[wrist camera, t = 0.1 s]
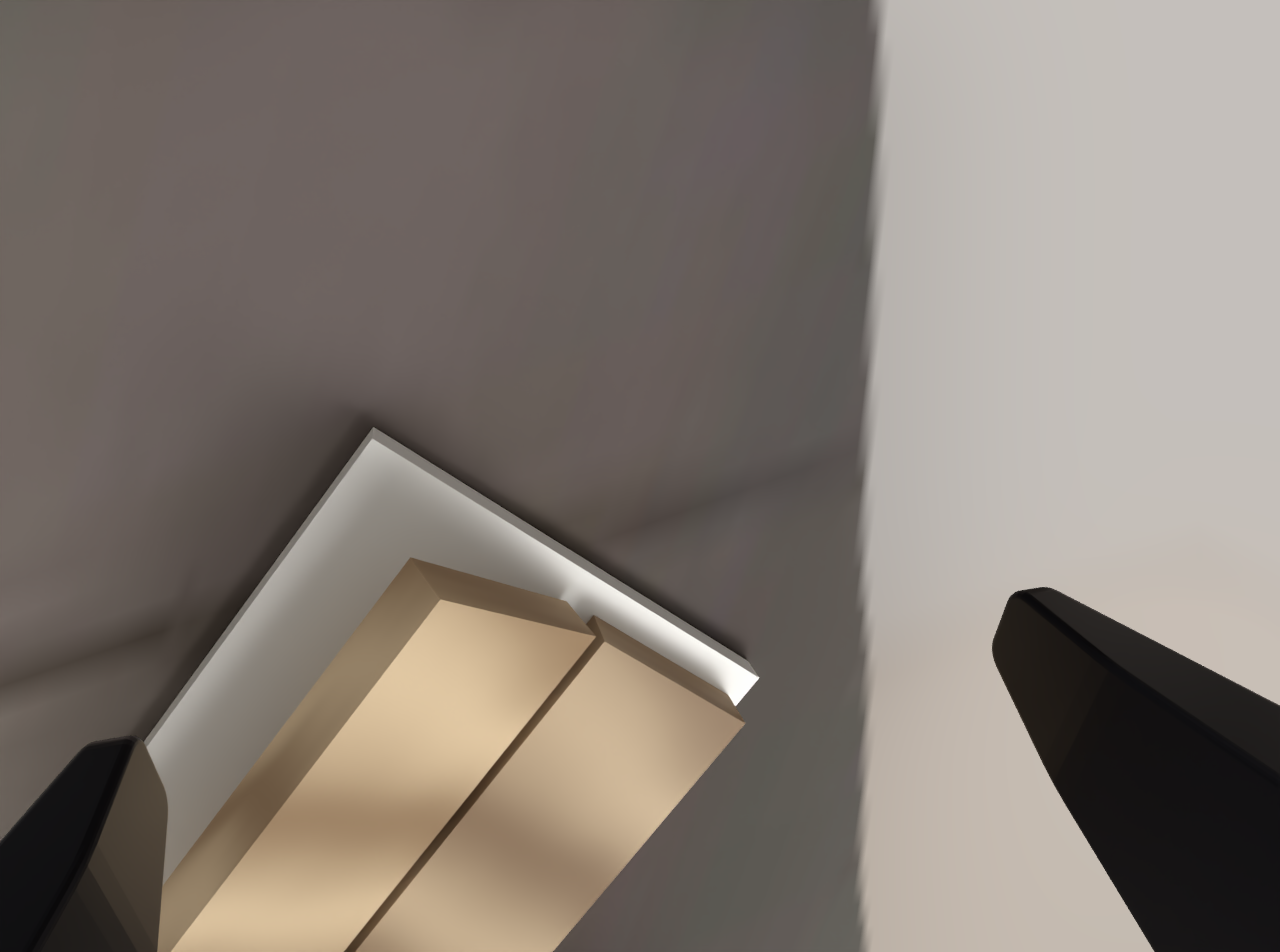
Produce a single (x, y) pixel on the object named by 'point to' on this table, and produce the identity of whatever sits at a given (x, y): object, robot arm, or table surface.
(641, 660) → the laid plank
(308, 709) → the raised plank
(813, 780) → the table surface
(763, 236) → the table surface
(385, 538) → the board
